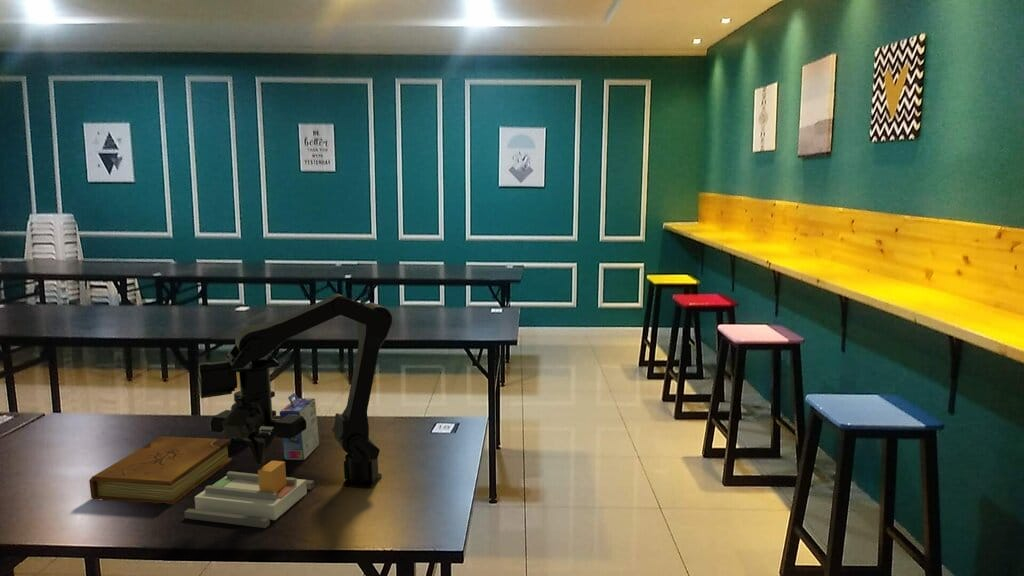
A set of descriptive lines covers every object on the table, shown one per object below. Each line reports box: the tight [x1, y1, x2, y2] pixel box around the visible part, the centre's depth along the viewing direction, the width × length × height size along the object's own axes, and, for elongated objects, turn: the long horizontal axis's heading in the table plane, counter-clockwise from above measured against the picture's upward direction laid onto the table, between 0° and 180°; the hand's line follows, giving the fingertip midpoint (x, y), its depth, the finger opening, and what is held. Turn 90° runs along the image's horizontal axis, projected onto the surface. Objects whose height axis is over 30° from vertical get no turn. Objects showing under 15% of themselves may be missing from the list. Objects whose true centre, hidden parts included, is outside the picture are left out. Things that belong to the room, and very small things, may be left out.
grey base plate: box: [183, 478, 315, 529], centre depth 146 cm, size 18×18×1 cm
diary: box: [89, 435, 233, 505], centre depth 158 cm, size 23×19×6 cm
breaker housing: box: [194, 470, 308, 521], centre depth 146 cm, size 18×12×4 cm, turn 76°
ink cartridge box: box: [279, 392, 320, 461], centre depth 171 cm, size 10×6×14 cm, turn 174°
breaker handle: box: [257, 460, 287, 493], centre depth 144 cm, size 3×5×5 cm, turn 166°
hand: (260, 463), depth 144 cm, fingers closed
